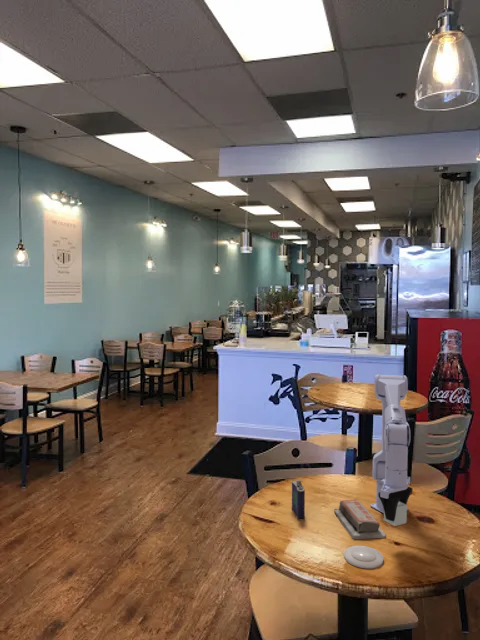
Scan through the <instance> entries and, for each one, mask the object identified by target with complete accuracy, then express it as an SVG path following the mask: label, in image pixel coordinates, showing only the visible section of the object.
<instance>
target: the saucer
mask: <svg viewBox="0 0 480 640" xmlns="http://www.w3.org/2000/svg"><path fill="white" fill-rule="evenodd" d="M343 557H344V560H345V561H346V562H347V563H348V564H349V565H352V566H354V567H356V568H360V569H367V570H368V569H376V568H379V567H381V566H382V565H383V563H384V555H383V554H382V553H381V551H379V550H378V549H375V548H373V547H370V546H366V545H352V546H351V545H350V546H349V547H346V548H345V550H344V551H343Z"/></svg>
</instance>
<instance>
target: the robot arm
mask: <svg viewBox="0 0 480 640" xmlns="http://www.w3.org/2000/svg"><path fill="white" fill-rule="evenodd" d="M408 384H409V382H408V377H407V376H406V375H404V374H403V375H395V374H394V375H393V374H379V373H377V374H376V375H374V398H375V399H378V400H380V402H381V406H382V411H381V412H382V413H381V415H382V417H381V419H382V420H381V450H380V451H378V452H376V453H375V454H374V455H373V457H372V478H373V480H374V481H376V489H375V490H376V491H375V492H376V495H375V498H376V499H375V503H371V504H370V505H369V507H371V508H373V509H375V510H376V511H379V512H380V513H382V514H384V512H385V516H386V519H387V520H390V521H394V520H395V516H396V509H397V505H398V503H399V501H400V502H402V503H404V504H406V505H407V506H408V504H407V503H408V501H409V498H410V496H411V494H412V492H413V487H410V486H409V485H411V476H408V457H409V456H408V455H409V454H408V453H409V449H408V448H409V446H410V443H411V428H410V424H409V423H408V422H407V418H406V417H407V416H406V410H405V408H404V407H403V406H401V401H403V400H405V398H406V396H407V394H408V387H409V386H408ZM408 510H409V507H407V511H408Z"/></svg>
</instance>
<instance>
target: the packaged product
mask: <svg viewBox="0 0 480 640" xmlns="http://www.w3.org/2000/svg"><path fill="white" fill-rule="evenodd" d="M333 512H334V514H335V516H336V517H337V519H338V520H339V521H340V523H341V525H342V526H343V527H344V530H346V532H347V533H348V534H349V536H350V537H351V538H352V539H353V540H364V539H365V540H368V539H372V540H373V539H384V538H385V539H386V538H387V534H386V533H385V532H384V531H383V529H381V528H380V526H381V525H380V523H379V522H378V521H377V520H376V518H375V517H374V516H373V515H372V514H371V513H370V512H369V510H368V509H367V508H366V507H365V506H364V505H363V503H362V502H361V501H359V500H357V499H343V500H340V502H339V507H338V508H334V510H333Z"/></svg>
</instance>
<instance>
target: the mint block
mask: <svg viewBox="0 0 480 640" xmlns="http://www.w3.org/2000/svg"><path fill="white" fill-rule="evenodd" d="M407 508H408V504H407V505H406V504H404V503H402V502H400V501H399V503H398V505H397V509H396V516H395V520H394V521H390V520H387V519H386V516H385V512H384V513H383V521H385V522H387V524H390V525H391V526H393V527H396V526H401V525H404V524H407V518H408V517H407V515H408V513H407V511H408V510H407Z"/></svg>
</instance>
